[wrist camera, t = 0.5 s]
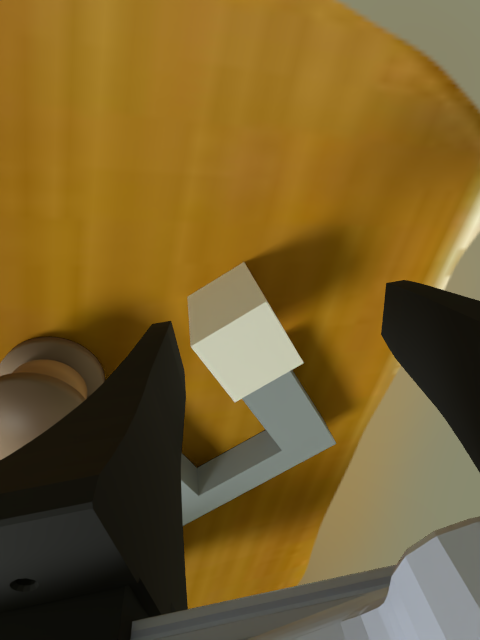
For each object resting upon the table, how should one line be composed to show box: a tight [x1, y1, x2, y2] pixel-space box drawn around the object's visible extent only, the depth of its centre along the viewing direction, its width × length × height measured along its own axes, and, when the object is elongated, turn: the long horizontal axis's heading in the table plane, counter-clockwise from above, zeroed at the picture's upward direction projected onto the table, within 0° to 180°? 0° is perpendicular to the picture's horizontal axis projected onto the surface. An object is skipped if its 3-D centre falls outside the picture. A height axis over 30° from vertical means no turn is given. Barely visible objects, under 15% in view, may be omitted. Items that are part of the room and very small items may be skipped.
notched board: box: [181, 370, 336, 526], centre depth 25 cm, size 14×9×2 cm, turn 120°
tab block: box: [188, 262, 303, 402], centre depth 19 cm, size 4×4×6 cm
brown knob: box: [0, 337, 105, 460], centre depth 20 cm, size 6×6×4 cm
